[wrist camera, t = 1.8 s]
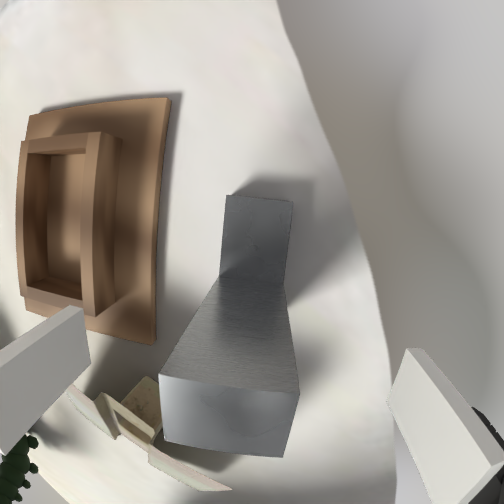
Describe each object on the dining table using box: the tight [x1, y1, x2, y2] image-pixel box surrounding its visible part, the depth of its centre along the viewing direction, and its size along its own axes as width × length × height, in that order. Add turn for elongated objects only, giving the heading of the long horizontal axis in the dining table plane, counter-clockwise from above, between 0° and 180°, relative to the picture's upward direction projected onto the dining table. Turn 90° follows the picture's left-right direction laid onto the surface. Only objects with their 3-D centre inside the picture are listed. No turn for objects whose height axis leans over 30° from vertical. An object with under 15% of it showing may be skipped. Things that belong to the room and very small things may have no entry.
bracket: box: [158, 195, 300, 458], centre depth 14 cm, size 8×4×13 cm, turn 174°
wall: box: [65, 376, 232, 491], centre depth 20 cm, size 16×9×15 cm
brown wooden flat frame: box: [16, 97, 171, 345], centre depth 18 cm, size 18×14×4 cm
